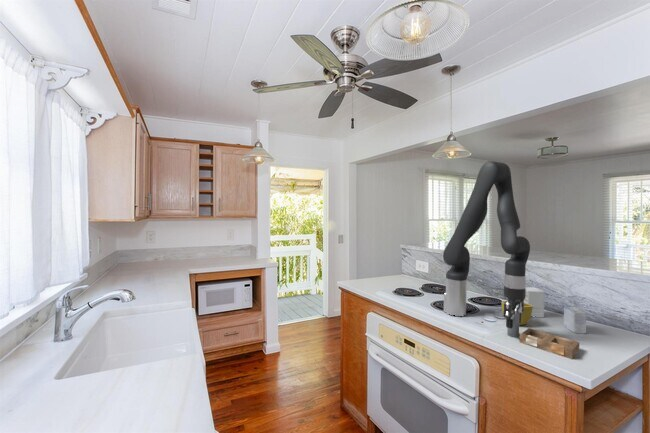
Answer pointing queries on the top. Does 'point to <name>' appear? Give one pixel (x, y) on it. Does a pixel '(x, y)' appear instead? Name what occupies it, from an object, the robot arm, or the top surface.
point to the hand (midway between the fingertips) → (513, 325)
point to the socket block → (550, 343)
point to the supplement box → (535, 300)
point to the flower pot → (523, 313)
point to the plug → (514, 326)
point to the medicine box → (575, 320)
